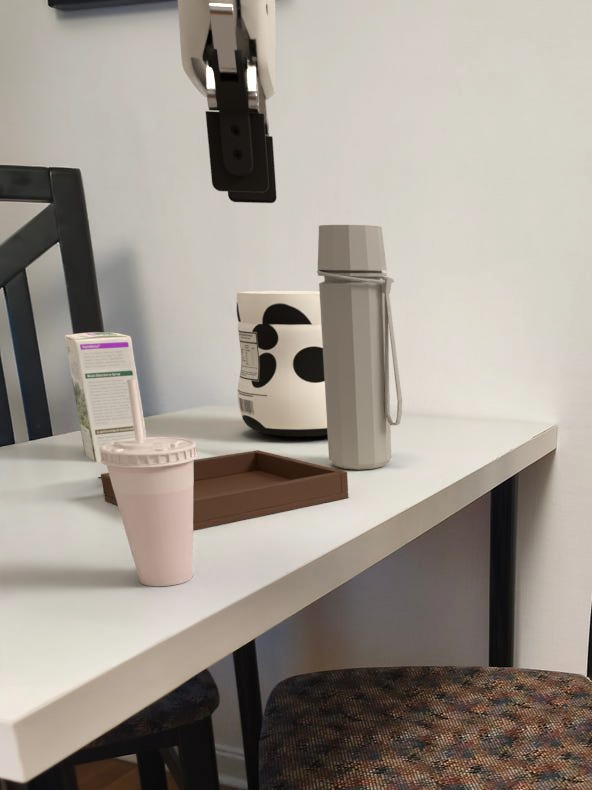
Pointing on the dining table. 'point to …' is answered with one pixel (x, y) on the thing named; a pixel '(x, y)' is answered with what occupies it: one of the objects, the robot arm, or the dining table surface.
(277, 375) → the milk container
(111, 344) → the syrup box
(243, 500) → the tray
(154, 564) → the smoothie
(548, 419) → the dining table surface
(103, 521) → the dining table surface
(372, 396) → the water bottle
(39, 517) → the dining table surface
